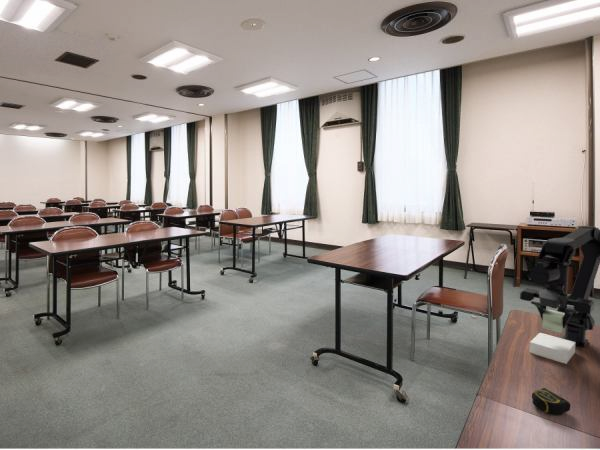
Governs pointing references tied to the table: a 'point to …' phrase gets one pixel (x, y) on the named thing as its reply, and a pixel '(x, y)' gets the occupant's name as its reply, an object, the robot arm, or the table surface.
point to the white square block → (552, 347)
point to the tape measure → (550, 402)
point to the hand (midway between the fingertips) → (553, 325)
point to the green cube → (553, 320)
